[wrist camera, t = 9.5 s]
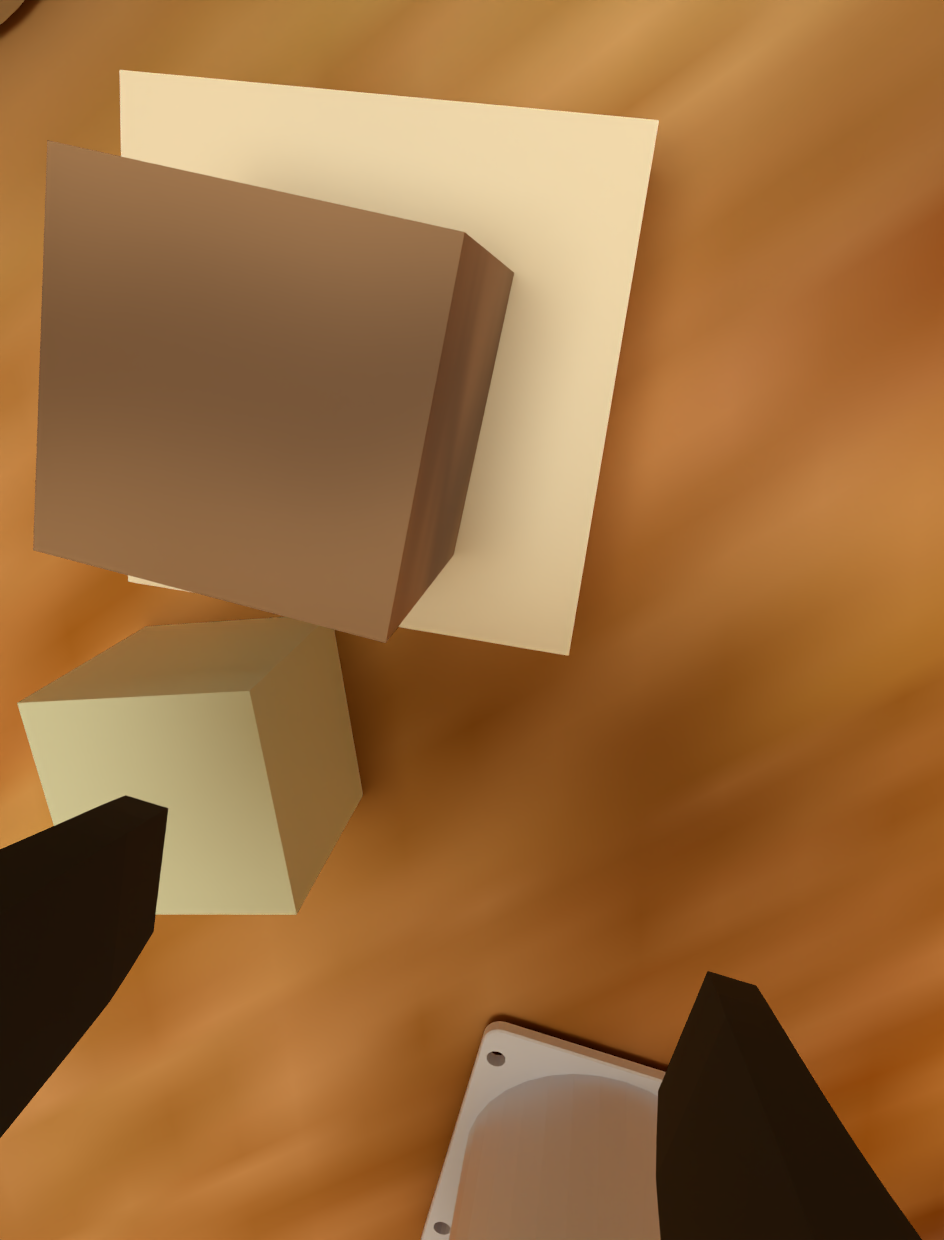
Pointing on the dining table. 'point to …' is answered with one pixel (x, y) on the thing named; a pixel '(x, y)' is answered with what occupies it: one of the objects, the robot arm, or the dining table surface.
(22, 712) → the sage block
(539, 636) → the base block
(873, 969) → the dining table surface
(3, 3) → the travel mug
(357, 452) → the walnut block
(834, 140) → the dining table surface
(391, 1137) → the dining table surface
